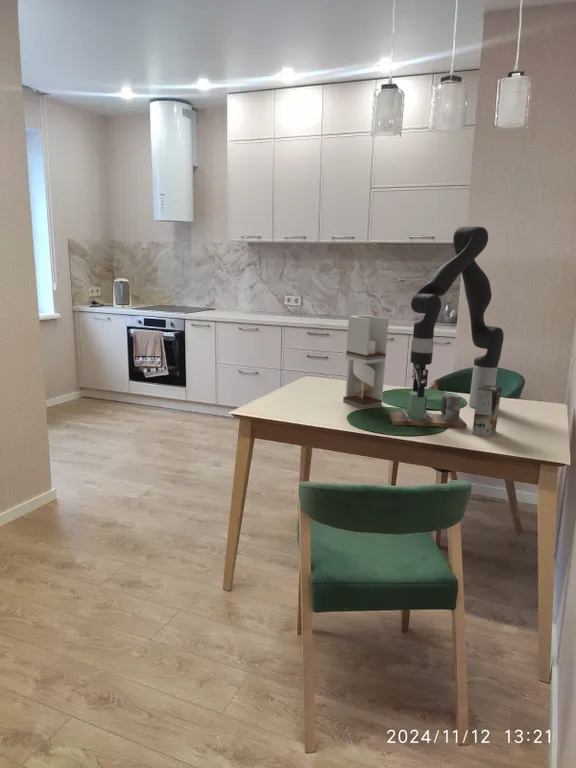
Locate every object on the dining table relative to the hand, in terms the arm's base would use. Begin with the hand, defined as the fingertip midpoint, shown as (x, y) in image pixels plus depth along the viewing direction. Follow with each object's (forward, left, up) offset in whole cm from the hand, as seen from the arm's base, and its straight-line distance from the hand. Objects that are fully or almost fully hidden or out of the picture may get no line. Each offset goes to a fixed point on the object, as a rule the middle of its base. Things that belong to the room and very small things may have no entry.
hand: (418, 394), depth 203 cm
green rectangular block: (0, 0, -9) cm, 9 cm away
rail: (-4, 0, -10) cm, 11 cm away
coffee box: (-22, +10, -11) cm, 26 cm away
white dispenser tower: (+17, -23, -10) cm, 30 cm away
